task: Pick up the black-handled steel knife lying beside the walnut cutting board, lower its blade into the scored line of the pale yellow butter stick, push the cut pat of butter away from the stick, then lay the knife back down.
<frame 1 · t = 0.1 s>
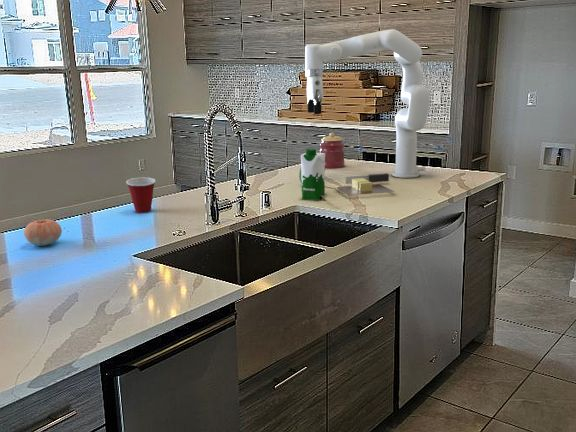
hand: (314, 113, 260), 31 cm above the worktop, tool pointing down, fingers open, 9 cm apart
plastic cup: (143, 211, 223), on the worktop
butter: (360, 188, 247), point 1 cm above the worktop, touching cutting board
pumpkin: (44, 244, 184), on the worktop
cutting board: (364, 192, 245), on the worktop
butter slice: (365, 191, 242), point 1 cm above the worktop, touching cutting board
kitchen canister: (332, 166, 308), on the worktop
avocado: (308, 186, 262), on the worktop
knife: (378, 184, 261), on the worktop
milk carton: (313, 198, 238), on the worktop
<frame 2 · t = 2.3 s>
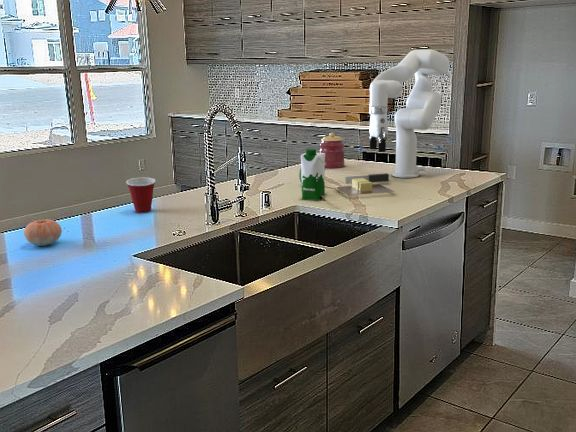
hand: (377, 150, 257), 15 cm above the worktop, tool pointing down, fingers open, 9 cm apart
nothing on the worktop moved.
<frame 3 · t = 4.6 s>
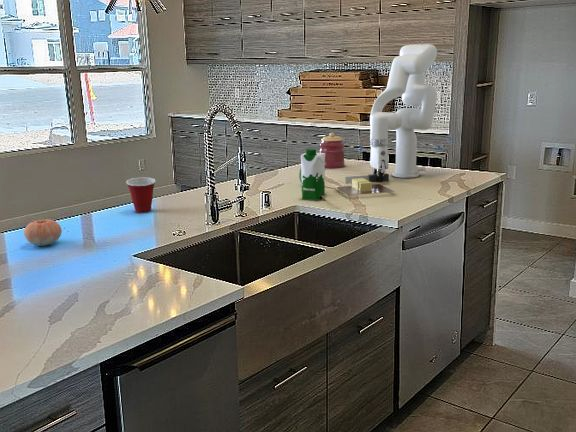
hand: (378, 184, 261), 0 cm above the worktop, tool pointing down, fingers closed on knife, 2 cm apart
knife: (378, 184, 261), on the worktop, touching gripper
everything else where it was.
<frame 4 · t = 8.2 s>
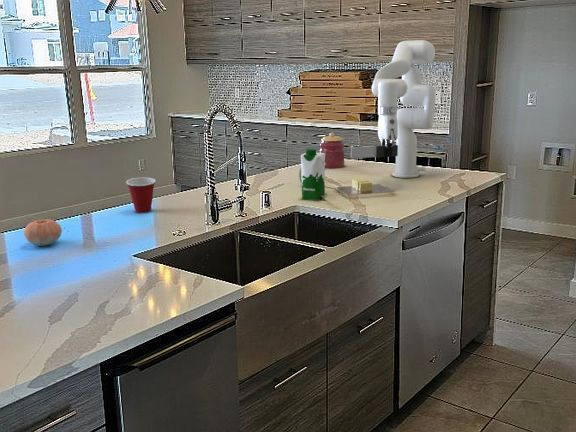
hand: (386, 155, 243), 15 cm above the worktop, tool pointing down, fingers closed on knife, 2 cm apart
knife: (386, 156, 243), point 15 cm above the worktop, touching gripper
everything else where it was.
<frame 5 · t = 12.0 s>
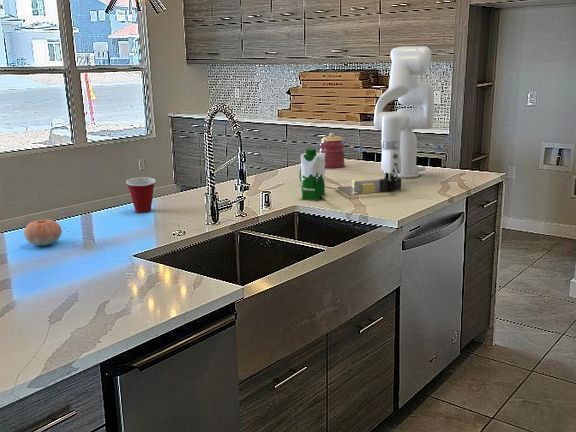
hand: (389, 189, 243), 2 cm above the worktop, tool pointing down, fingers closed on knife, 2 cm apart
butter slice: (368, 192, 239), point 1 cm above the worktop, touching cutting board, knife
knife: (389, 189, 243), point 2 cm above the worktop, touching butter slice, gripper
everything else where it was.
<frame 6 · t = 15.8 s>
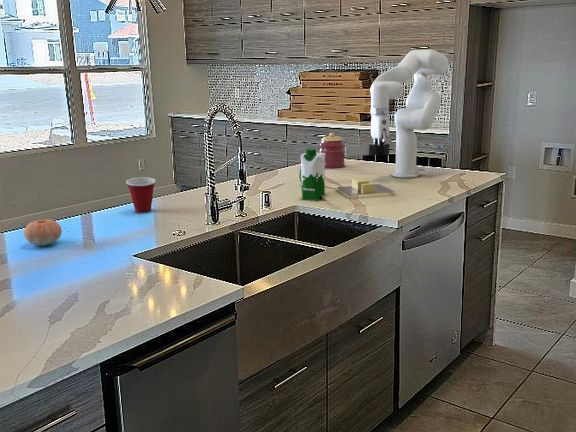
hand: (378, 154, 258), 14 cm above the worktop, tool pointing down, fingers closed on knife, 2 cm apart
butter slice: (368, 192, 239), point 1 cm above the worktop, touching cutting board
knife: (378, 154, 258), point 13 cm above the worktop, touching gripper
everything else where it was.
when the fingers open (0 cm above the worktop, at t = 18.5 s): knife stays where it is, on the worktop.
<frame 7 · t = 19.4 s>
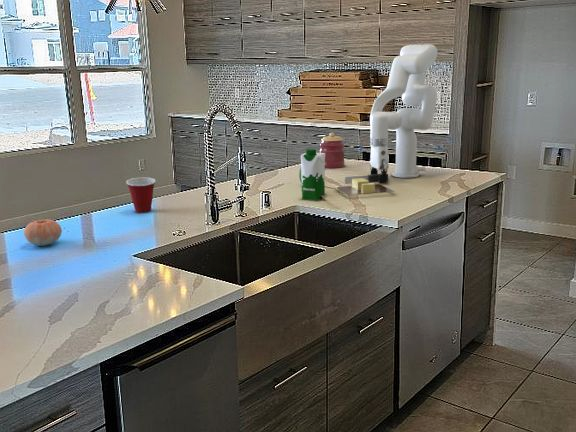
hand: (378, 181, 261), 1 cm above the worktop, tool pointing down, fingers open, 9 cm apart
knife: (377, 184, 261), on the worktop
everything else where it was.
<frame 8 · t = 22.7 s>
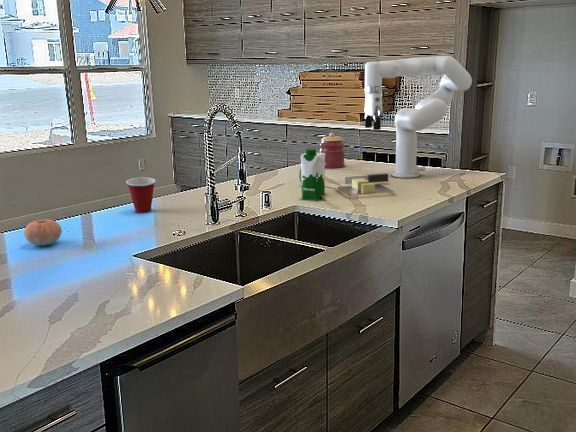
hand: (372, 128, 267), 23 cm above the worktop, tool pointing down, fingers open, 9 cm apart
nothing on the worktop moved.
at the end: butter slice 0.9 cm from the target spot, point 1.5 cm above the worktop; butter slice tilted 0°; butter moved 0.0 cm from its start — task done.
